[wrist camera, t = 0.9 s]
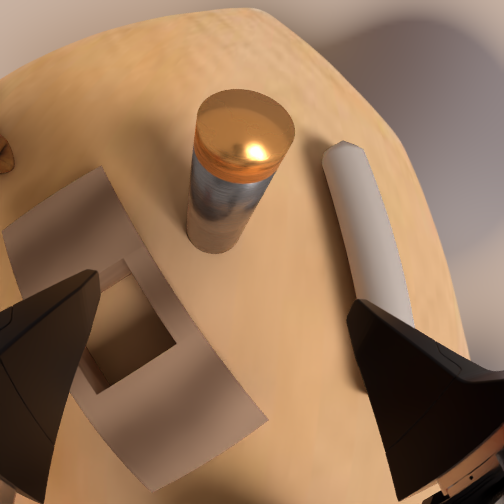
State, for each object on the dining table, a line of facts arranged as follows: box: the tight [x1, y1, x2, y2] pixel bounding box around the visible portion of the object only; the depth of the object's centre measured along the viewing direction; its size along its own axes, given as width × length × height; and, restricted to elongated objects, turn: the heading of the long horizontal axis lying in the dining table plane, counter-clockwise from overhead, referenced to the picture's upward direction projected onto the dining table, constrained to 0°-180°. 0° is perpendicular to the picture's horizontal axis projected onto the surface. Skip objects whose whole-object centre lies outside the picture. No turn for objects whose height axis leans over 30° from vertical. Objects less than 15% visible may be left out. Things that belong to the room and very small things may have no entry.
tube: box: [322, 141, 415, 328], centre depth 25 cm, size 5×5×25 cm
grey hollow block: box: [2, 165, 269, 493], centre depth 18 cm, size 22×10×4 cm, turn 36°
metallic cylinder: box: [186, 89, 295, 254], centre depth 18 cm, size 5×5×13 cm
